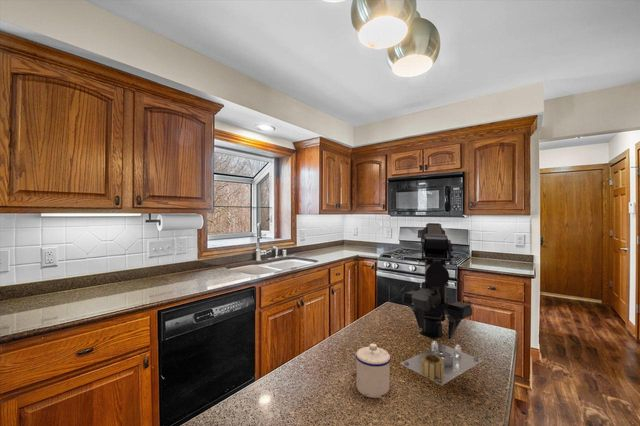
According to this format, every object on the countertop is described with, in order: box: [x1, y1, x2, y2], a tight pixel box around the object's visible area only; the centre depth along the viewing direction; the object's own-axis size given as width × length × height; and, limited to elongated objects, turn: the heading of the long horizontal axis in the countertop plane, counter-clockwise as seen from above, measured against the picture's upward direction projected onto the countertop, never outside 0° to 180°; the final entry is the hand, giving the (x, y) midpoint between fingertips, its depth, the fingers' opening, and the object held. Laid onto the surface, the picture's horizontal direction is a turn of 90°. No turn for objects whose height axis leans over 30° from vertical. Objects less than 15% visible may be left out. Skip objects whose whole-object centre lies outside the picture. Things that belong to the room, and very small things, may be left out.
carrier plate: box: [399, 339, 484, 386], centre depth 90 cm, size 14×23×4 cm, turn 126°
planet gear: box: [421, 354, 444, 379], centre depth 84 cm, size 6×6×4 cm
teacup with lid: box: [354, 343, 391, 399], centre depth 79 cm, size 12×9×12 cm
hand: (434, 333), depth 84 cm, fingers open, 9 cm apart
